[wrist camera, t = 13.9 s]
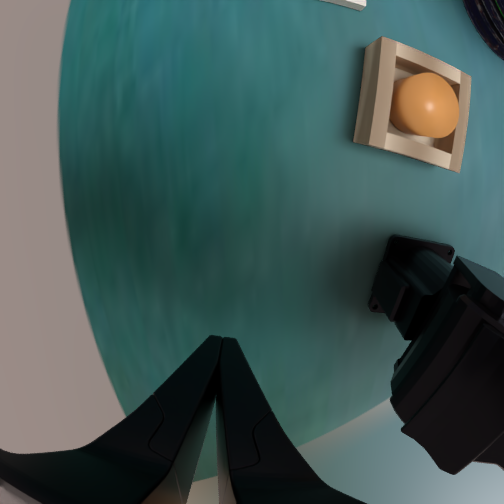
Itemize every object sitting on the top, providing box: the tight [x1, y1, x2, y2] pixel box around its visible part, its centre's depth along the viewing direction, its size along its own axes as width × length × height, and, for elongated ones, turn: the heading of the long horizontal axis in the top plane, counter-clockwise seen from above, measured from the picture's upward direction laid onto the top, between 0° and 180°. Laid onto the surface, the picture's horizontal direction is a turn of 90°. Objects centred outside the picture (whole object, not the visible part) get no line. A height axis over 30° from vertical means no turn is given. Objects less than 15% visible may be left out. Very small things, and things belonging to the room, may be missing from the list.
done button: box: [389, 73, 459, 138], centre depth 14 cm, size 4×4×3 cm
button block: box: [353, 36, 471, 173], centre depth 15 cm, size 7×7×3 cm
